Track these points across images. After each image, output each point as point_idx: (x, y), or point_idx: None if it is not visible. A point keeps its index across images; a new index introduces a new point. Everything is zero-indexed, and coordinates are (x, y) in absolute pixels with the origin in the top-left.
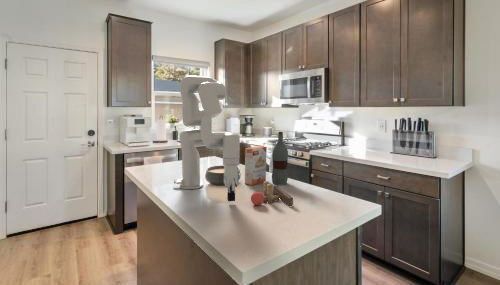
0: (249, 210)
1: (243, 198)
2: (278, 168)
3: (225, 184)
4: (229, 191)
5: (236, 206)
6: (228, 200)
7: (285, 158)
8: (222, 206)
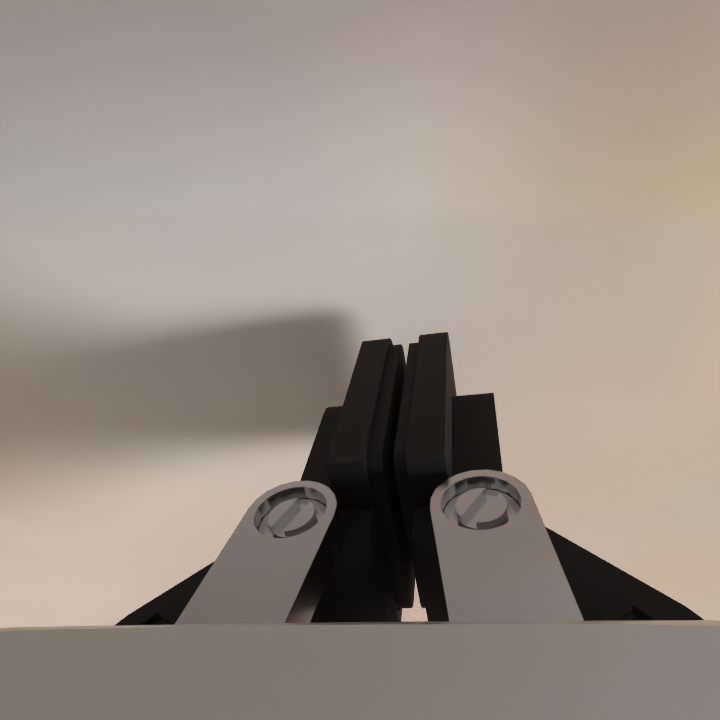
0: (115, 573)
1: (701, 591)
2: None
3: (154, 695)
4: (237, 543)
5: (271, 438)
6: (363, 352)
7: None
8: (264, 180)
